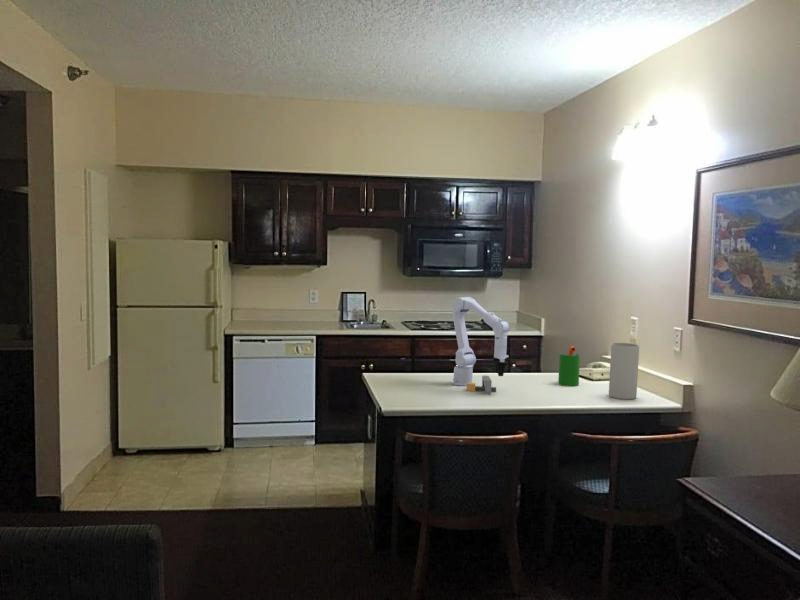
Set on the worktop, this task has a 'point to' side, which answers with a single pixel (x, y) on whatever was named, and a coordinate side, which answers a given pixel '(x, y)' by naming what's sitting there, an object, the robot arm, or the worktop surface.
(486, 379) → the bracket
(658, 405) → the worktop surface
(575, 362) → the green upright cylinder
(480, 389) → the plug
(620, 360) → the cylinder vase
